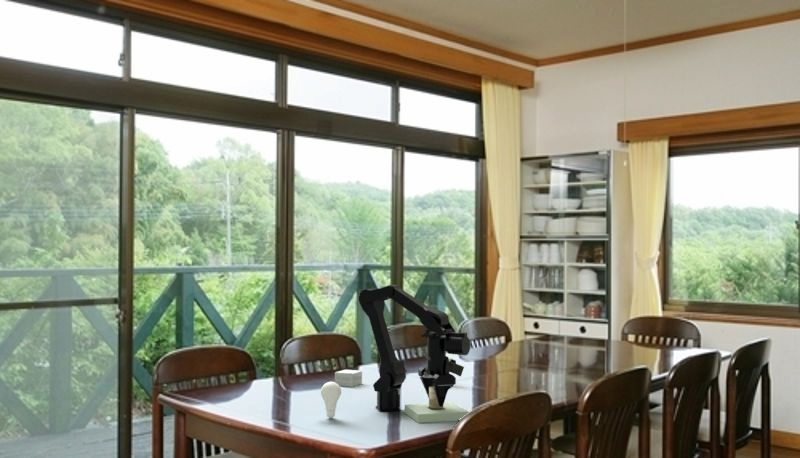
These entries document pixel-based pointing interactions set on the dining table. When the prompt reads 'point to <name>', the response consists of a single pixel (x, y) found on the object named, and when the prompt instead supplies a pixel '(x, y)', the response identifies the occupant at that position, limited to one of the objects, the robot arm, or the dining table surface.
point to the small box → (348, 378)
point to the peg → (433, 400)
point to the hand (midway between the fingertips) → (436, 403)
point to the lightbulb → (330, 397)
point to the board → (435, 412)
